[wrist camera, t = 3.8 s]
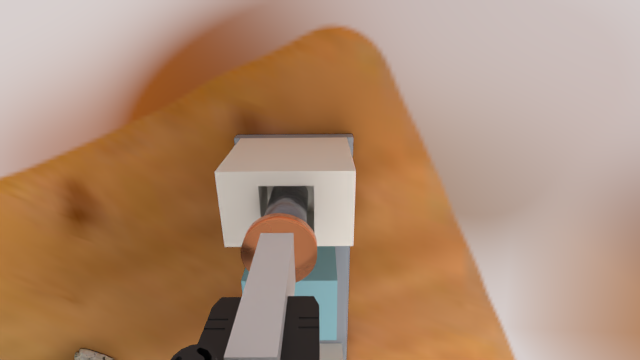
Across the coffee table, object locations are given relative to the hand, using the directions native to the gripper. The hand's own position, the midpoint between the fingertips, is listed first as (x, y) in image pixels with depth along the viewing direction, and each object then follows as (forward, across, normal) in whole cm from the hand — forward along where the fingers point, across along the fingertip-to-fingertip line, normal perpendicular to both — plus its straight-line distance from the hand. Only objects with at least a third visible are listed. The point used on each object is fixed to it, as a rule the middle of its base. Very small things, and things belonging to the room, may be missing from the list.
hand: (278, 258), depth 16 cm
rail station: (+13, 0, -10) cm, 16 cm away
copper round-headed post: (+7, 0, 0) cm, 7 cm away
